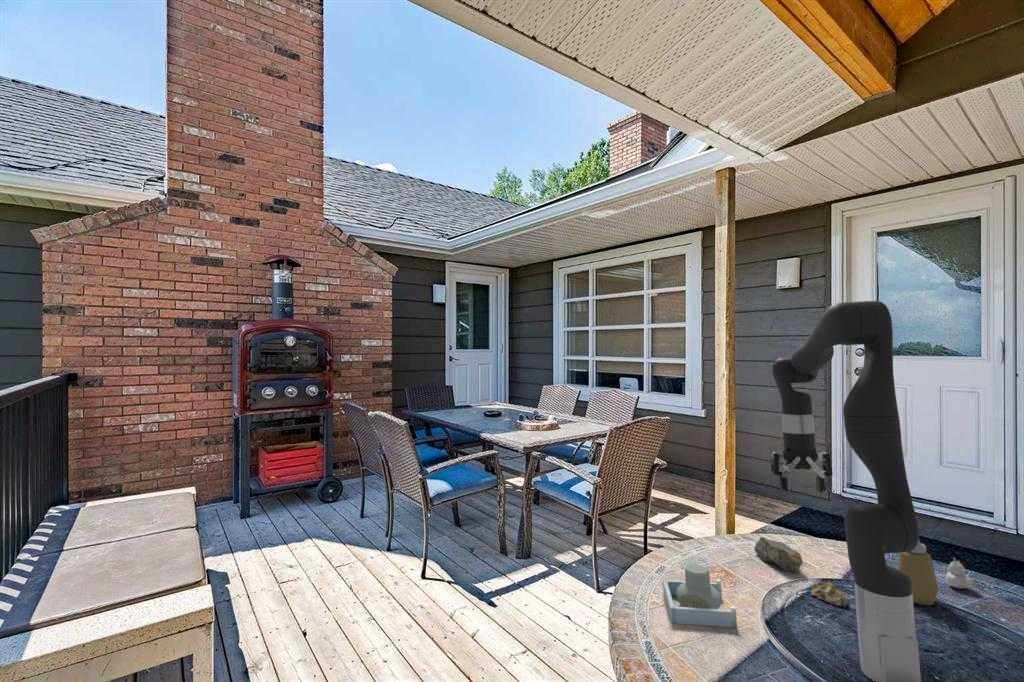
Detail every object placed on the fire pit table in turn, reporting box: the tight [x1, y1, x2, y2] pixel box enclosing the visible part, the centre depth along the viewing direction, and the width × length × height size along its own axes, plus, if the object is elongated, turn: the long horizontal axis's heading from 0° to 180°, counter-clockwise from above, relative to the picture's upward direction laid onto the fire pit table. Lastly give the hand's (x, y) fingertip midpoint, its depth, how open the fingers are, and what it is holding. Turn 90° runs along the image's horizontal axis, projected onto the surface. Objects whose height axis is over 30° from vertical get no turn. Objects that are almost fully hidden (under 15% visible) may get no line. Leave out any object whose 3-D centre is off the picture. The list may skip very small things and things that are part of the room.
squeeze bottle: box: [897, 539, 939, 606], centre depth 123 cm, size 8×8×18 cm
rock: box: [754, 536, 804, 573], centre depth 149 cm, size 17×7×10 cm
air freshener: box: [675, 564, 722, 609], centre depth 122 cm, size 11×8×10 cm
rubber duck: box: [945, 557, 974, 590], centre depth 129 cm, size 5×7×8 cm
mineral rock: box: [809, 580, 849, 606], centre depth 126 cm, size 11×4×8 cm
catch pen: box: [662, 578, 738, 629], centre depth 122 cm, size 16×15×4 cm
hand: (802, 491), depth 127 cm, fingers open, 8 cm apart
